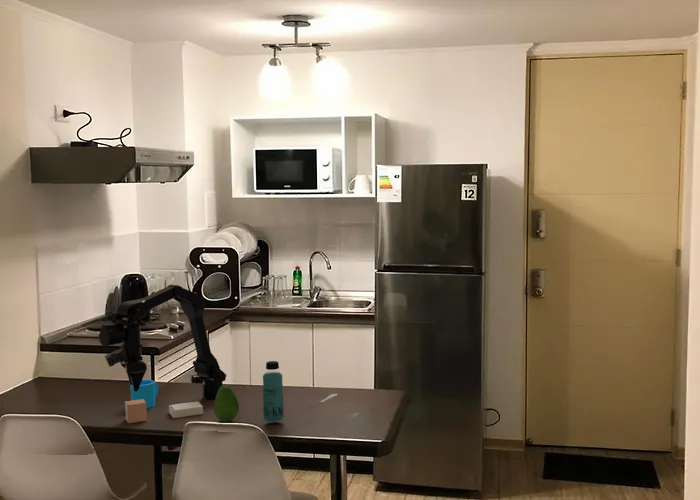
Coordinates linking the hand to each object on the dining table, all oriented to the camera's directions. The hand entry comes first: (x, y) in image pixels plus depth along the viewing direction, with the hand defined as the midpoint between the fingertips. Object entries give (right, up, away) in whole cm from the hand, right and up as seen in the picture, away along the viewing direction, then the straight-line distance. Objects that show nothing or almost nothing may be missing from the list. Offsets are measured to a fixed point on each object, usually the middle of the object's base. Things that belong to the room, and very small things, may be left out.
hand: (133, 388), depth 261 cm
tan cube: (0, -11, +1) cm, 11 cm away
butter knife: (+60, -8, +15) cm, 63 cm away
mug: (-1, -9, +20) cm, 22 cm away
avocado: (+31, -11, -3) cm, 33 cm away
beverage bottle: (+46, -10, -6) cm, 48 cm away
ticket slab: (+15, -10, +8) cm, 20 cm away
